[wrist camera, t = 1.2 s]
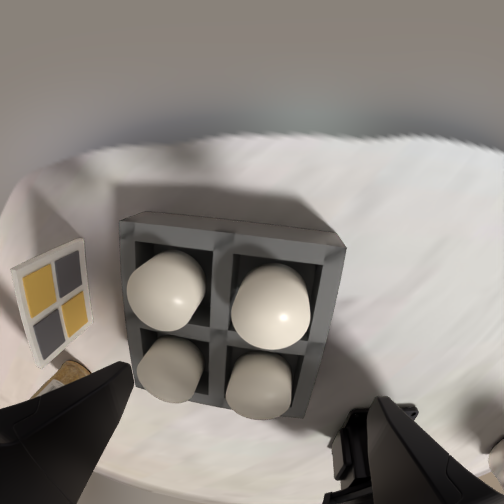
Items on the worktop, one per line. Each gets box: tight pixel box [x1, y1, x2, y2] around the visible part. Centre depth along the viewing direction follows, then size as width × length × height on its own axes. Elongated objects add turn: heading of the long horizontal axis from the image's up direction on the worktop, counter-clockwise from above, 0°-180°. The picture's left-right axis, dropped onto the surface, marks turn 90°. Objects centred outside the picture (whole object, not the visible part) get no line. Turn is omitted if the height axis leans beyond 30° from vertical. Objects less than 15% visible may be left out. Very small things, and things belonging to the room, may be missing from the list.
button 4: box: [127, 250, 207, 331], centre depth 15 cm, size 4×4×2 cm
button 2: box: [231, 263, 310, 350], centre depth 14 cm, size 4×4×2 cm
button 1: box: [226, 350, 292, 420], centre depth 16 cm, size 4×4×2 cm
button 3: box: [137, 335, 205, 403], centre depth 16 cm, size 4×4×2 cm
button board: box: [119, 211, 347, 418], centre depth 17 cm, size 12×12×3 cm
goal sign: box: [11, 238, 94, 369], centre depth 17 cm, size 1×7×7 cm, turn 175°
